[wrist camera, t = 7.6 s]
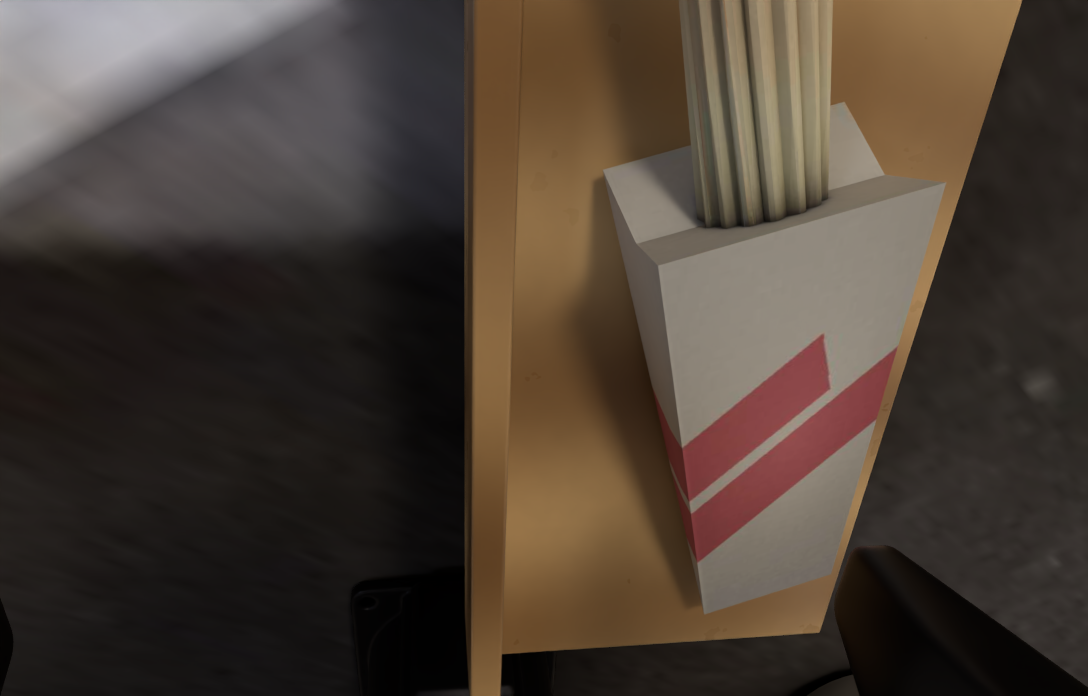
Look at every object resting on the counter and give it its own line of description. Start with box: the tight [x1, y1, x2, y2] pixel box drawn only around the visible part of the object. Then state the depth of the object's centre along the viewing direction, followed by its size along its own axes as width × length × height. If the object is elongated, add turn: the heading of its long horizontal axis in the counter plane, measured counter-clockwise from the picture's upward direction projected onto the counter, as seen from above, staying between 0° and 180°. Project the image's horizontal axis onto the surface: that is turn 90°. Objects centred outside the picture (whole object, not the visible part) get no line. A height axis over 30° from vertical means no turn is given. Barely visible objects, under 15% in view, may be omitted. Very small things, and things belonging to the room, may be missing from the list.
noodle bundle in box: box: [603, 0, 946, 614], centre depth 12 cm, size 4×3×20 cm
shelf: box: [464, 0, 1022, 696], centre depth 15 cm, size 24×8×8 cm, turn 177°
